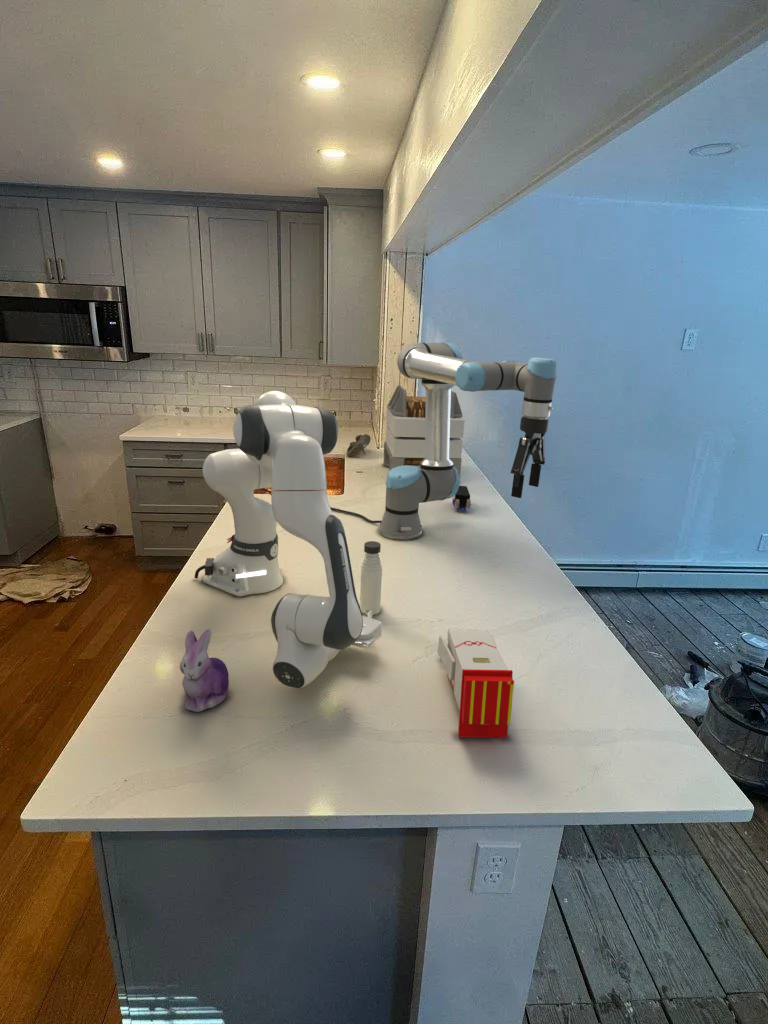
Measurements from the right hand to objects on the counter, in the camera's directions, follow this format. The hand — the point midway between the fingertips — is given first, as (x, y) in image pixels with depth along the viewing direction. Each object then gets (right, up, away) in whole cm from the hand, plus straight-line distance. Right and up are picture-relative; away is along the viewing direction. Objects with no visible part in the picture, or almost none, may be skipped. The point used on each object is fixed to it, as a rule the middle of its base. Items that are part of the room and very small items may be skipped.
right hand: (525, 491), depth 161 cm
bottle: (-44, -32, -12) cm, 56 cm away
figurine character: (-9, -4, +68) cm, 69 cm away
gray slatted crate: (-23, +13, +114) cm, 117 cm away
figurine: (-76, -43, -48) cm, 100 cm away
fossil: (-54, +26, +145) cm, 157 cm away
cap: (-43, -14, -19) cm, 49 cm away
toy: (-22, -44, -43) cm, 65 cm away
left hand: (-48, -29, -24) cm, 61 cm away
